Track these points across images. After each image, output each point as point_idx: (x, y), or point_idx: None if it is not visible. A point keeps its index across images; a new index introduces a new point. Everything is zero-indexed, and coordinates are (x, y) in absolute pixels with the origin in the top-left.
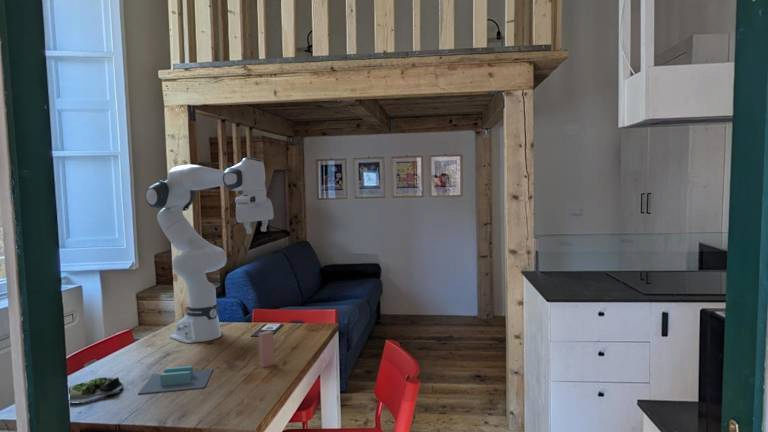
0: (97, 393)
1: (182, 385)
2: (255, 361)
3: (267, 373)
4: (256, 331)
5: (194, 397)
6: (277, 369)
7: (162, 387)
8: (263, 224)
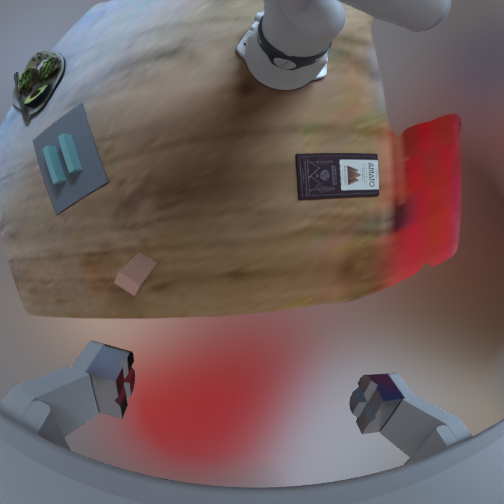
0: (23, 101)
1: None
2: (156, 234)
3: None
4: (327, 154)
5: (38, 218)
6: None
7: None
8: (419, 424)
